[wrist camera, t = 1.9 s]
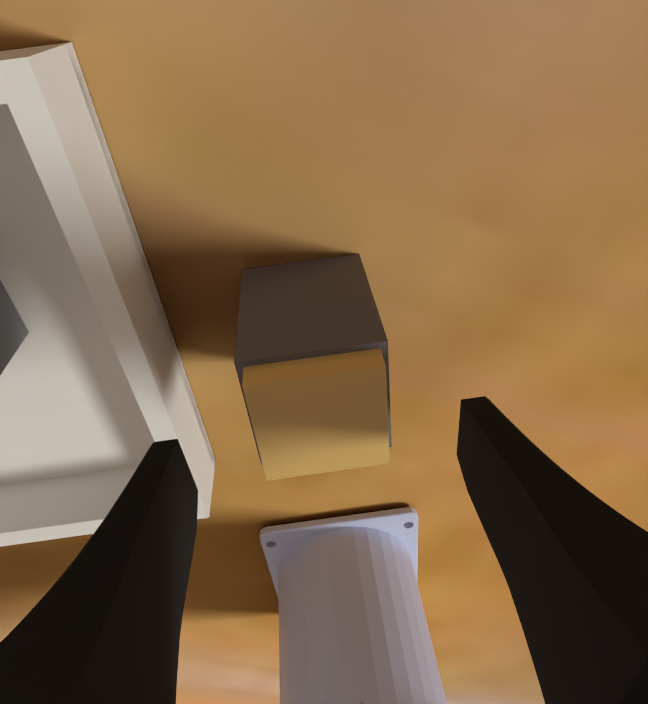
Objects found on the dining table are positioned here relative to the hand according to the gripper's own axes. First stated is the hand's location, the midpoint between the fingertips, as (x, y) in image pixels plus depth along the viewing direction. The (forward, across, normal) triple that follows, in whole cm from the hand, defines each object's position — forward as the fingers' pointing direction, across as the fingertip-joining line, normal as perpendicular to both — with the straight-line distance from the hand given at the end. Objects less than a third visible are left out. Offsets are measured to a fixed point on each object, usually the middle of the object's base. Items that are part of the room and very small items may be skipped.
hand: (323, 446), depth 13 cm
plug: (+7, 0, 0) cm, 7 cm away
